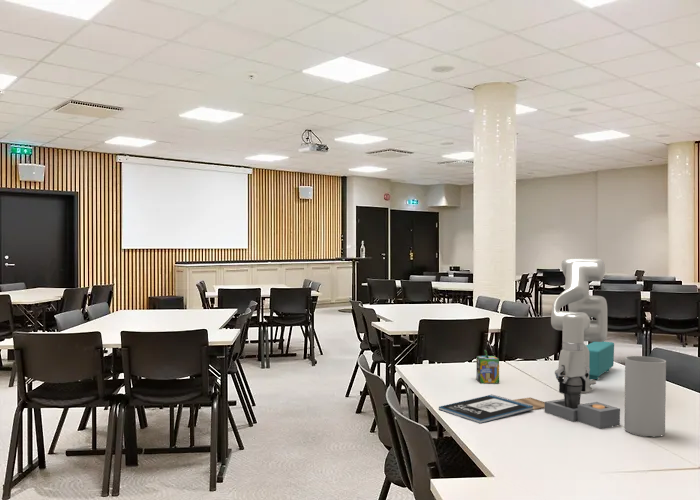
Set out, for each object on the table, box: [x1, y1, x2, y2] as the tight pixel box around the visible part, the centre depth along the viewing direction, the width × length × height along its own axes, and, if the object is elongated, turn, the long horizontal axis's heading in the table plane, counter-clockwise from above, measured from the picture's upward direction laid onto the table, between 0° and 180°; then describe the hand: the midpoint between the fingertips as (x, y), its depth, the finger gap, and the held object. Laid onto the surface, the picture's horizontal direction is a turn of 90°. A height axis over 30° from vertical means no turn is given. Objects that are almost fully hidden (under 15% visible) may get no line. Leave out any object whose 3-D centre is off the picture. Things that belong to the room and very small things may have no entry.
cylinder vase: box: [623, 355, 667, 437], centre depth 201 cm, size 12×12×25 cm
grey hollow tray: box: [544, 398, 621, 430], centre depth 217 cm, size 13×24×6 cm, turn 27°
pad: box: [511, 397, 546, 412], centre depth 236 cm, size 14×14×1 cm
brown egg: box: [593, 404, 605, 409], centre depth 211 cm, size 4×4×4 cm
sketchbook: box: [438, 393, 533, 424], centre depth 226 cm, size 22×30×2 cm
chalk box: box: [475, 349, 500, 384], centre depth 277 cm, size 9×9×15 cm
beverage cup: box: [563, 377, 583, 409], centre depth 222 cm, size 7×7×20 cm
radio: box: [585, 341, 615, 380], centre depth 296 cm, size 34×10×15 cm, turn 144°
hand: (572, 392), depth 221 cm, fingers open, 9 cm apart
